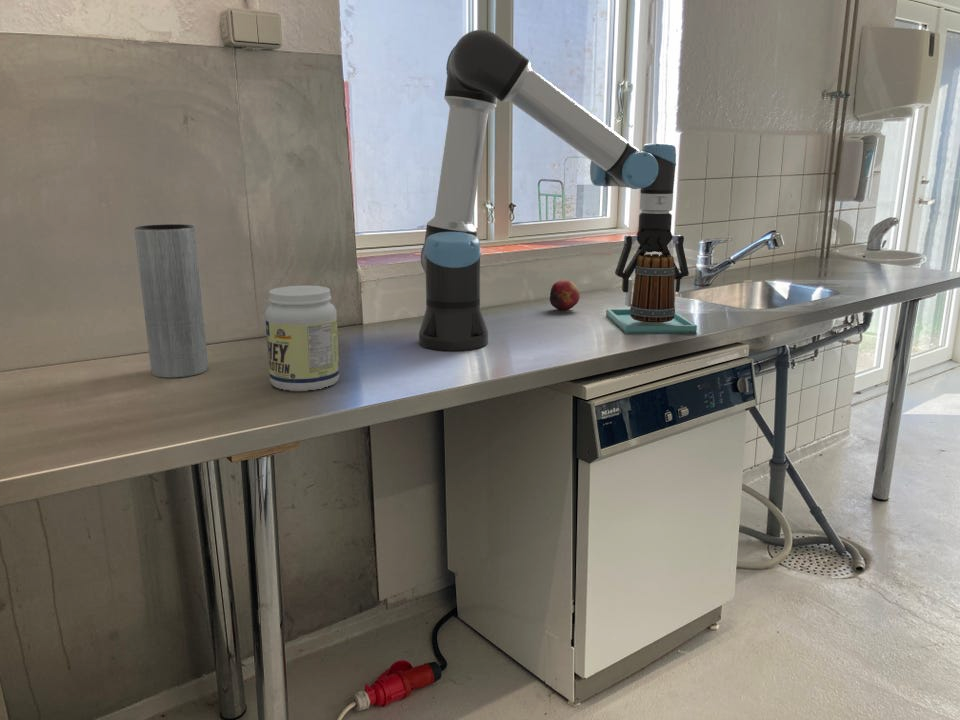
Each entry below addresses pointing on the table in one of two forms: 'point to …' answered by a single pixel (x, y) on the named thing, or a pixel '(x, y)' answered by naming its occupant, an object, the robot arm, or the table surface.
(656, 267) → the mug
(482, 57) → the robot arm
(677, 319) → the tray
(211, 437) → the table surface
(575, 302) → the fruit
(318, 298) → the supplement tub
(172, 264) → the vase
